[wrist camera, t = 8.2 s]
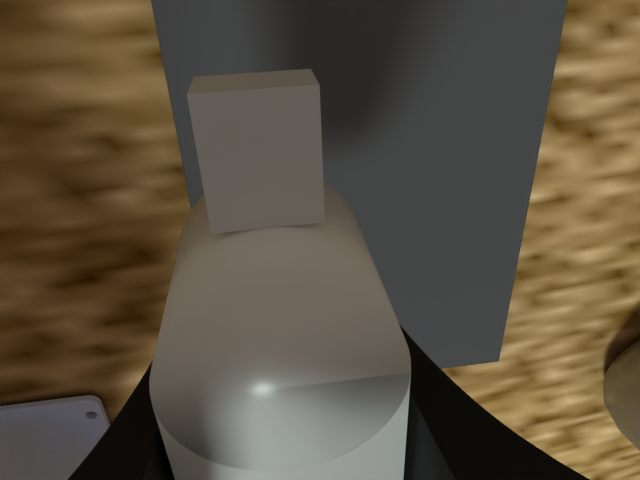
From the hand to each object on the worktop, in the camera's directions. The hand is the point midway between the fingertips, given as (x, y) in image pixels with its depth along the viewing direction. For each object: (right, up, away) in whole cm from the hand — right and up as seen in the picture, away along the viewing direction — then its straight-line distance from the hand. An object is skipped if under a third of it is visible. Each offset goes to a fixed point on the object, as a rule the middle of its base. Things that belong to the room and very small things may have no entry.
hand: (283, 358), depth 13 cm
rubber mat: (+3, +4, +9) cm, 10 cm away
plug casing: (0, +2, 0) cm, 2 cm away
